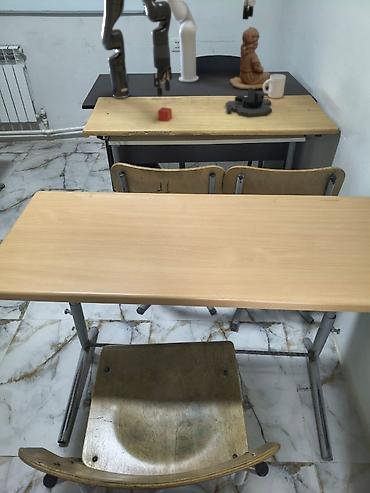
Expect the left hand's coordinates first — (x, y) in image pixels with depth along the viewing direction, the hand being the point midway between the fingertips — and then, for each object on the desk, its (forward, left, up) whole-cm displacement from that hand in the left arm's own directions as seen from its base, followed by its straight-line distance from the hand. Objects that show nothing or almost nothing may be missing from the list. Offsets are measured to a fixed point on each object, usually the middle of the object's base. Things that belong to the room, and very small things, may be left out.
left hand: (164, 93), depth 170 cm
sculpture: (-27, +68, -12) cm, 74 cm away
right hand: (-37, +70, +21) cm, 81 cm away
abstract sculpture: (+10, +43, -12) cm, 46 cm away
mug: (-1, +65, -12) cm, 66 cm away
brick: (0, 0, -12) cm, 12 cm away
